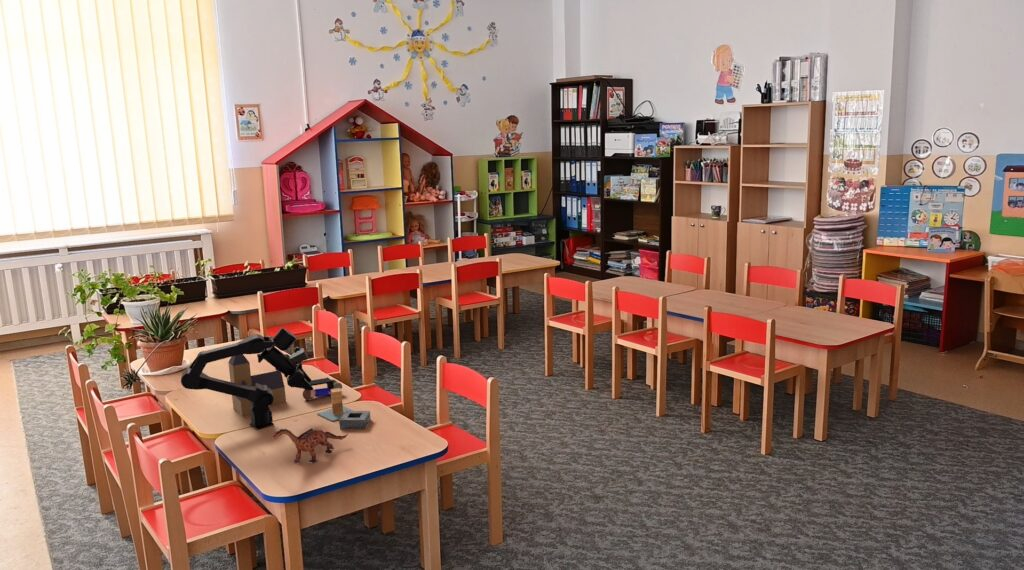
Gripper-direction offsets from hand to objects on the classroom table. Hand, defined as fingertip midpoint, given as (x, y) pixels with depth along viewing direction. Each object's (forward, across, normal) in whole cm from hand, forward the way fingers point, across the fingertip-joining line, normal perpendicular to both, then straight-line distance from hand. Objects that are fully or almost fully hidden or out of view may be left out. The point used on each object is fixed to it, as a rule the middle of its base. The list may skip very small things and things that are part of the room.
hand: (311, 385), depth 293 cm
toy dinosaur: (+6, -38, +11) cm, 40 cm away
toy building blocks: (-3, +19, +22) cm, 30 cm away
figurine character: (+13, +22, +6) cm, 26 cm away
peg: (+15, 0, +2) cm, 15 cm away
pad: (+15, 0, +3) cm, 15 cm away
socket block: (+18, -13, -1) cm, 23 cm away
